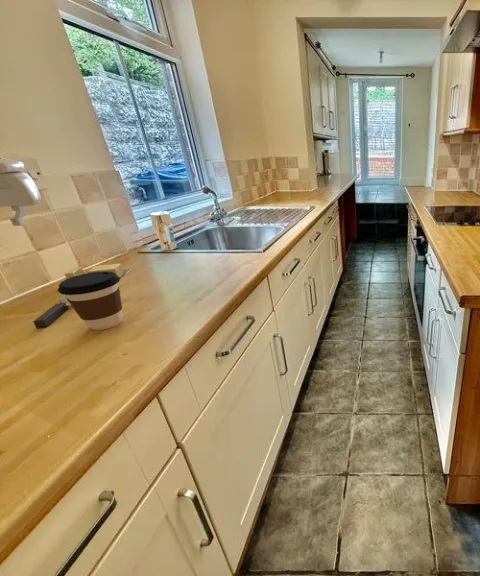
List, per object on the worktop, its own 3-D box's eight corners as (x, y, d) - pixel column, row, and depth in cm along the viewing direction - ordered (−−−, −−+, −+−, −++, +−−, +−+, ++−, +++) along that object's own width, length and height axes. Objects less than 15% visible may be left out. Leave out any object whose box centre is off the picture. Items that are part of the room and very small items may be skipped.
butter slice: (69, 284, 97) (64, 273, 95) (78, 278, 102) (73, 267, 100) (77, 283, 97) (72, 273, 96) (85, 277, 102) (81, 267, 101)
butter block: (91, 282, 98) (87, 271, 97) (99, 275, 103) (95, 265, 102) (118, 279, 101) (114, 268, 99) (124, 273, 105) (121, 263, 104)
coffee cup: (117, 310, 85) (100, 268, 80) (143, 317, 81) (128, 274, 76) (66, 330, 75) (44, 283, 70) (94, 339, 72) (73, 291, 67)
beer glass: (182, 245, 140) (172, 211, 133) (173, 250, 133) (163, 214, 127) (165, 246, 139) (155, 211, 133) (156, 251, 133) (145, 215, 127)
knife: (46, 327, 77) (41, 316, 75) (36, 328, 76) (30, 317, 75) (88, 292, 95) (84, 283, 94) (79, 293, 94) (75, 284, 93)
